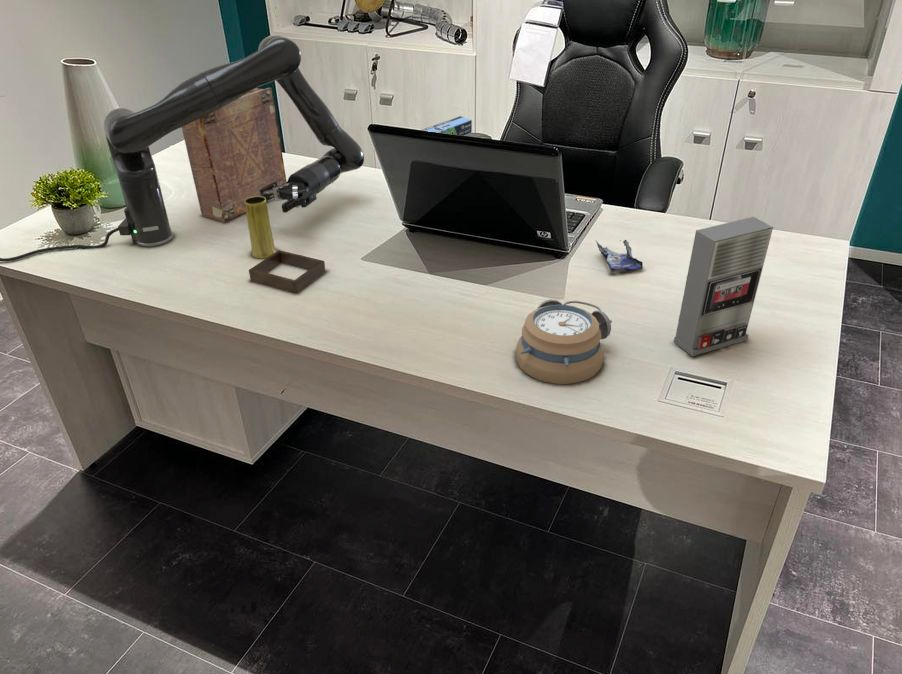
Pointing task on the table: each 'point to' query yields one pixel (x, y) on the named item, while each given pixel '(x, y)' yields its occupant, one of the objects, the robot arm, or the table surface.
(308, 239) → the table surface
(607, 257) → the snack package
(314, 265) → the open brown wooden box
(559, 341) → the alarm clock
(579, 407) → the table surface
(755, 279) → the cassette tape recorder
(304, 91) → the robot arm
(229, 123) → the book
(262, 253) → the vase
